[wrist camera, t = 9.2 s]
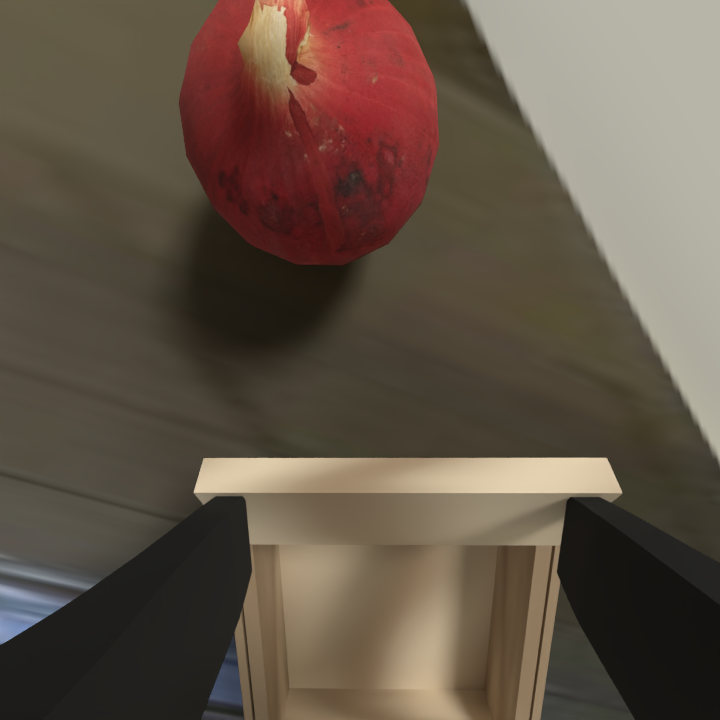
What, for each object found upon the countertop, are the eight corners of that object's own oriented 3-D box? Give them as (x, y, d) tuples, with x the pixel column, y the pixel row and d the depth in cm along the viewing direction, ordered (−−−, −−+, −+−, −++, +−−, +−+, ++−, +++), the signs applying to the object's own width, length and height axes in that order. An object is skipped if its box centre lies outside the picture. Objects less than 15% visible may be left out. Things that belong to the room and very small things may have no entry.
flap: (193, 492, 8) (203, 458, 9) (236, 544, 11) (242, 515, 11) (622, 493, 8) (606, 457, 9) (559, 545, 11) (549, 516, 11)
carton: (272, 687, 19) (251, 782, 15) (253, 459, 16) (221, 515, 12) (500, 689, 18) (530, 786, 15) (524, 459, 15) (569, 516, 12)
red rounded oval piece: (444, 216, 13) (555, 156, 5) (295, 291, 14) (204, 333, 6) (370, 35, 12) (375, -382, 4) (210, 128, 13) (-40, -79, 5)
